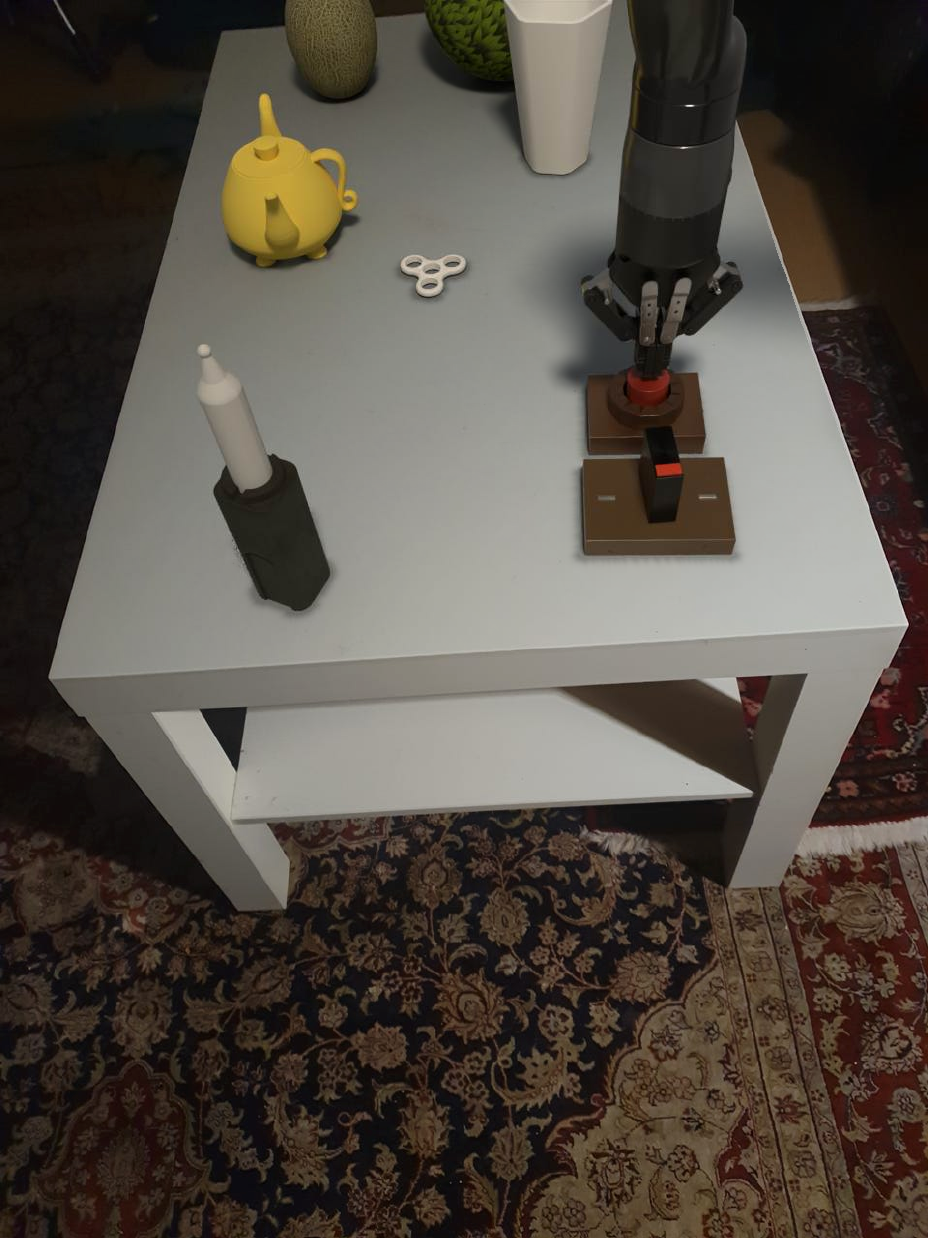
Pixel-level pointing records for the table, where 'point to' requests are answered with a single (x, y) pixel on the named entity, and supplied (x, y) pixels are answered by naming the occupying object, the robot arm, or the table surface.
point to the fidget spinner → (432, 278)
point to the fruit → (332, 43)
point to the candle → (261, 496)
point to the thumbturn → (660, 474)
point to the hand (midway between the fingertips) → (649, 370)
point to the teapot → (282, 195)
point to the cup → (556, 76)
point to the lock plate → (623, 517)
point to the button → (647, 388)
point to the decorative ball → (473, 35)
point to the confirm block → (643, 414)
